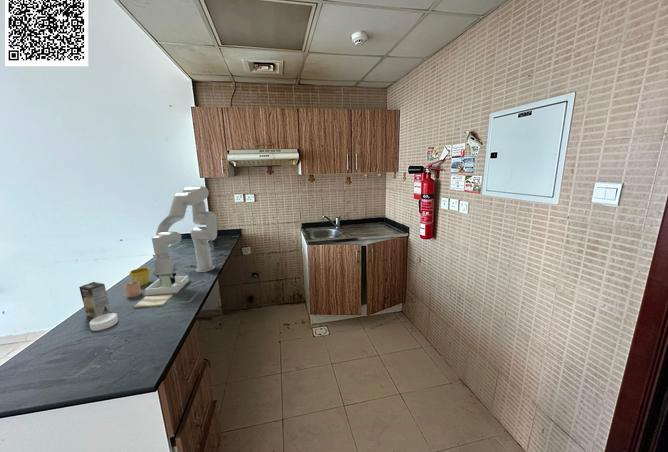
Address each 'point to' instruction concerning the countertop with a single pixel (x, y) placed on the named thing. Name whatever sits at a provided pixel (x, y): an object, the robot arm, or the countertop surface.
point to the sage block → (166, 280)
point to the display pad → (153, 301)
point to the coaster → (103, 321)
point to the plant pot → (140, 275)
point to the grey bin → (158, 289)
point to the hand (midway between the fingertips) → (168, 283)
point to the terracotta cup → (133, 289)
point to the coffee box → (95, 299)
